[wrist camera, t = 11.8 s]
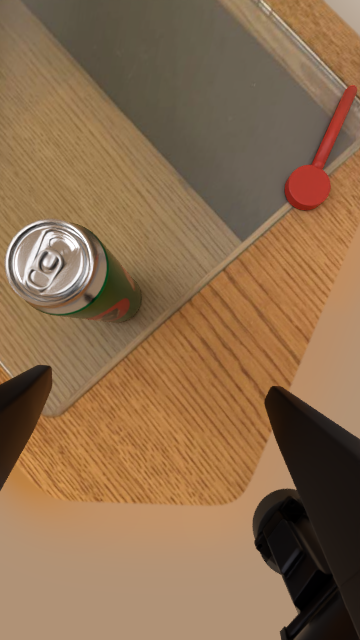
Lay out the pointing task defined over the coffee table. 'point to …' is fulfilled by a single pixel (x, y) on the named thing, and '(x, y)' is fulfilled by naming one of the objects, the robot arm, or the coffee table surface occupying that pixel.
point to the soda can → (69, 273)
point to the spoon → (318, 163)
